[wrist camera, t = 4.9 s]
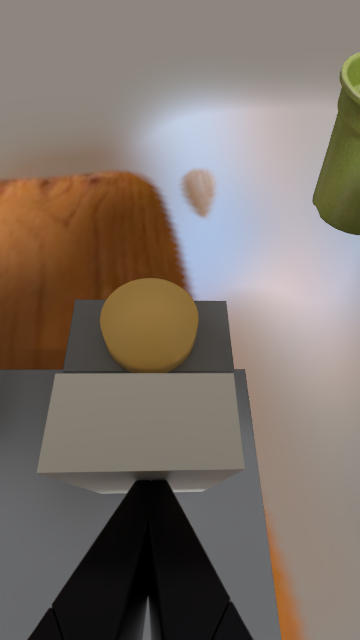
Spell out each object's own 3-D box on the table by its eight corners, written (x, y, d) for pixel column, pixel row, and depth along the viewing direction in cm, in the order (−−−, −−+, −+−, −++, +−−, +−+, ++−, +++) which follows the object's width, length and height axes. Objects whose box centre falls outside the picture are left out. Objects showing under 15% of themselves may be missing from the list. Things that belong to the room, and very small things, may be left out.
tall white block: (202, 491, 13) (244, 469, 6) (101, 493, 13) (36, 472, 6) (199, 439, 14) (233, 373, 7) (105, 440, 14) (55, 373, 7)
